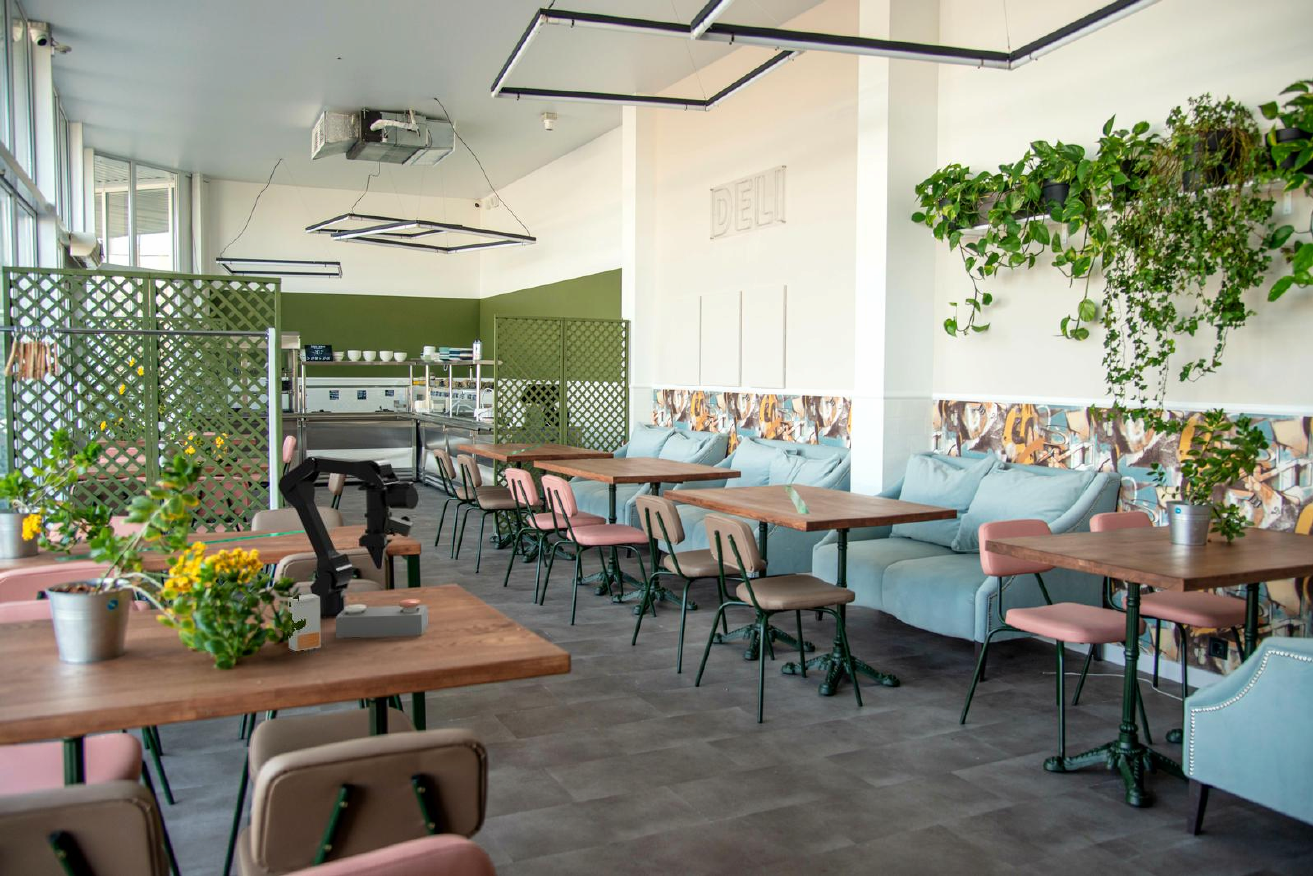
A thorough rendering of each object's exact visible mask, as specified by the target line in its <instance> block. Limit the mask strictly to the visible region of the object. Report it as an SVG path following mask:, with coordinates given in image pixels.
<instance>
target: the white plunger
mask: <svg viewBox="0 0 1313 876" xmlns="http://www.w3.org/2000/svg"><path fill="white" fill-rule="evenodd" d="M366 607H367V605H366V604H360V603H359V604H350V605H346V607H344V611H345V612H348V614H362V611H364V610H366Z"/></svg>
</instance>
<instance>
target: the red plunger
mask: <svg viewBox="0 0 1313 876" xmlns="http://www.w3.org/2000/svg"><path fill="white" fill-rule="evenodd" d="M419 605H421V600H420V599H415V598H413V599H411V598H410V599H403V600H400V601H398V606H400V607H403V613H404V612H417V606H419Z"/></svg>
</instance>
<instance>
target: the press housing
mask: <svg viewBox="0 0 1313 876" xmlns="http://www.w3.org/2000/svg"><path fill="white" fill-rule="evenodd" d="M428 610H429V609H428V604H422V605H421V604H420V605H419V606H417V612H404V613H403V607H400V606H399V605H394V606H392V605H389V606H387V605H386V606H384V605H383V606H366V610H364V611H362V614H348V612H345V611H344V610H343V611H342V612H341V613H340V614H339V615H338V616H337V617H335V638H336V639H344V638H343V637H348V638H347V639H350V638H349V637H361V638H384V637H387V638H388V637H412V636H413V637H415V636H423V634H424V632H425V630H426V629H427V627H428V625H429V622H428V621H429V616H428V615H429V614H428V613H429V612H428Z"/></svg>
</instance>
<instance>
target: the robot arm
mask: <svg viewBox="0 0 1313 876" xmlns="http://www.w3.org/2000/svg"><path fill="white" fill-rule="evenodd" d="M322 473H326V474H337V475H345V476H352V477H354V478H356V479H357V480H359V481H362V482H363V483H361V484H360V486H358V488H357V491H359V492H361V491H363V492H365V513H364V518H366V528H365V529H364V533H363V535H361V536H360V537H359V538H358V547H360V548H361V547H362V548H363V547H365V548H366V550H367V552H368V553H369V556H370V558H371V559H372V562H373V564H374V566H375V568H376V569H377V570H381V569H382V568H383V564H384V560H385V555H386V550H387V547H388V546H389V545H390V544H391V543H392V542H393V541H394V540H393V539H391V538H390V539H388V536H390V535H391V536H392V537H396V536H397V535H400V536H402V537H406V538H408V537H409V536H410V535H411V532H412V529H413V526H414V523H413V522H412V521H411V516H408V515H406V514H403V516H402V517H396V516H393V511H392V510H390V509H395V510H414V509H415V508H416V507H417V505H418V503H419V493H418V491H417V489H416V488H415V487H414V482H413V481H412V482H411V481H409V482H408V481H407V482H402V480H400V477H399V476H398V475H397V474H396V472H395V470H394V469H393V466H392V465H391V462H390V461H389V460H388V459H387V458H373V459H363V460H358V459H357V460H356V459H347V458H338V457H329V456H323V455H312V456H311V455H310V456H308V457H307V458H305V459H304V460H303V461H302V462H301V463H300V464H298V465H297V466H296V467H295V468H293V469H291V470H290V471H289V472H288V473H287V474H284V475H282V476H281V477H280V479H279V482H278V484H277V485H278V490H279V492H280V494H281V495H282V497H283V498H284V500H285V501H286V502H287V503H288V504H289V505H291V506H292V507H293V508H294V510H296V513H297V516H298V518H299V519H300V521H301V524H302V527H303V529H304V532H305V533H306V535H307V536H306V537H307V538H308V540H309V543H310V545H311V547H312V549H313V551H314V554H315V555H316V568H315V569H316V573H317V578H316V580H314V582H313V583H312V584H311V585H310V586H309V589H310V592H311V594H315V595H317V596H319V597H320V619H322V618H336V617H337V616H338V615H339V614H340V613H341V612H342V611H343V610H344V607H346V606H347V597H346V595H344V594H345V593H344V590H347V589H348V588H349V584H350V582H351V580H352V579H353V575H354V573H353V569H352V568H354V565H352V564H351V562H350V560H349V556H348V554H347V553H342V554H341V553H339V552H338V551H337V550H336V548H335V545H334V543H333V541H332V539H331V537H330V535H329V532H328V530H327V528H326V526H325V523H324V521H323V519H322V516H321V515H320V514H321V513H320V512H319V509H318V508H317V505H316V503H315V495H316V489H315V486H314V484H315V483H316V482H317V481H318V480H319V478H320V476H321V474H322Z"/></svg>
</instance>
